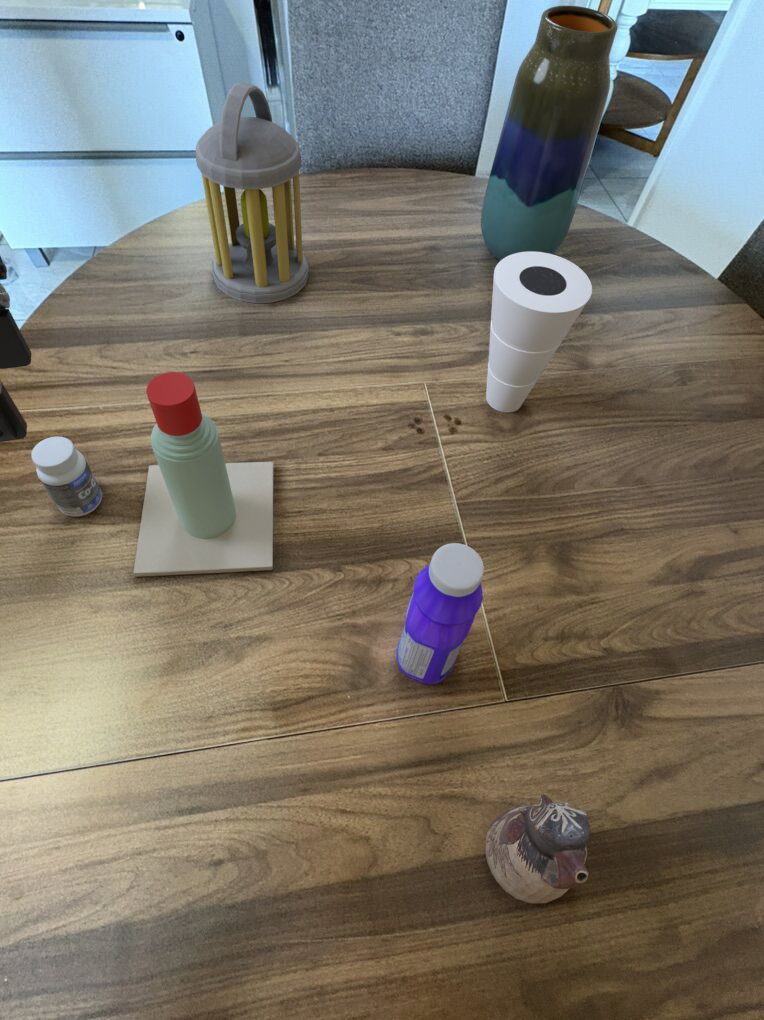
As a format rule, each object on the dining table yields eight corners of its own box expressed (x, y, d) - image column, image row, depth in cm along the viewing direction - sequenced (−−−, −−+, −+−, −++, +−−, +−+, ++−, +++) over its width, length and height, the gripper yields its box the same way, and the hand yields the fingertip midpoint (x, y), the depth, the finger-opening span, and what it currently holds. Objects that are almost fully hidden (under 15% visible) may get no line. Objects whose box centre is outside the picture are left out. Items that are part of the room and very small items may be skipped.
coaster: (134, 577, 63) (132, 573, 62) (150, 469, 71) (149, 465, 70) (273, 570, 64) (272, 566, 64) (273, 465, 72) (273, 461, 71)
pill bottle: (97, 518, 66) (70, 470, 59) (52, 517, 66) (19, 469, 59) (108, 483, 69) (83, 433, 62) (64, 481, 69) (35, 432, 62)
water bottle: (176, 539, 65) (129, 419, 49) (182, 493, 68) (139, 368, 53) (234, 537, 65) (205, 418, 50) (237, 491, 69) (210, 367, 53)
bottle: (412, 610, 63) (436, 516, 49) (464, 630, 62) (505, 541, 48) (386, 674, 59) (405, 592, 45) (442, 697, 58) (479, 621, 44)
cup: (506, 360, 85) (543, 241, 70) (560, 408, 81) (612, 291, 66) (447, 390, 81) (473, 270, 66) (501, 441, 77) (542, 325, 62)
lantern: (238, 237, 97) (214, 51, 77) (322, 259, 96) (320, 75, 75) (196, 288, 89) (155, 96, 69) (286, 313, 88) (272, 124, 67)
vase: (521, 289, 95) (592, 50, 69) (456, 246, 100) (500, 10, 74) (575, 257, 101) (659, 26, 75) (511, 218, 106) (569, -10, 80)
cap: (153, 436, 53) (142, 405, 50) (158, 403, 55) (148, 372, 52) (200, 435, 53) (192, 405, 50) (203, 403, 55) (196, 371, 52)
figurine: (563, 808, 53) (616, 781, 43) (574, 906, 49) (636, 900, 39) (481, 804, 53) (516, 776, 43) (486, 902, 49) (526, 895, 39)
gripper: (-249, 1, 26) (-45, 328, 40) (-389, 180, 18) (-75, 507, 32) (-51, -1, 27) (79, 314, 41) (-103, 164, 20) (78, 482, 33)
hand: (11, 397), depth 36 cm, fingers open, 5 cm apart
